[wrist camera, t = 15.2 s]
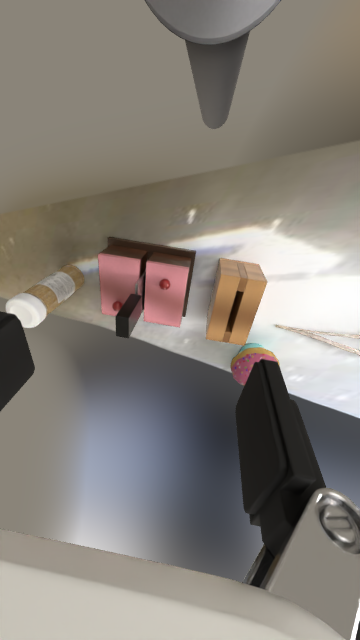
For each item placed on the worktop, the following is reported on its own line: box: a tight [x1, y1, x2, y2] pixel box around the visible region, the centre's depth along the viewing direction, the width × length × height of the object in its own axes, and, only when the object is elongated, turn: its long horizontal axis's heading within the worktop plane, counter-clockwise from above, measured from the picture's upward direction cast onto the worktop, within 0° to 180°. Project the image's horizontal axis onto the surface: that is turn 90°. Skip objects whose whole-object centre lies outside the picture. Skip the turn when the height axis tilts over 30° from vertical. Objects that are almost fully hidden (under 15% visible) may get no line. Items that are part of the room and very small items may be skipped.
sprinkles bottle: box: [6, 265, 84, 328], centre depth 36 cm, size 5×5×13 cm
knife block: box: [206, 258, 267, 346], centre depth 37 cm, size 11×6×7 cm, turn 173°
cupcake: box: [231, 343, 279, 386], centre depth 41 cm, size 9×8×12 cm
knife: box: [116, 269, 146, 338], centre depth 34 cm, size 6×2×14 cm, turn 173°
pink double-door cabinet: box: [98, 237, 196, 327], centre depth 37 cm, size 12×14×7 cm
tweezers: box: [276, 325, 360, 356], centre depth 42 cm, size 17×5×2 cm, turn 82°
